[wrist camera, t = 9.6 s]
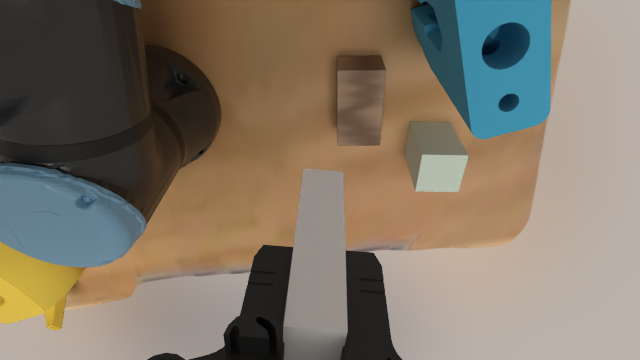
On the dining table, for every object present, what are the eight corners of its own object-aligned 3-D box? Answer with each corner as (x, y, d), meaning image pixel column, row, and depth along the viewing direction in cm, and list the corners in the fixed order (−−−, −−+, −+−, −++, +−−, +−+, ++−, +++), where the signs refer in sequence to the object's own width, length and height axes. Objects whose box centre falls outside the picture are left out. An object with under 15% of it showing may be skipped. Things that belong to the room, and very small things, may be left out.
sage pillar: (404, 155, 50) (415, 191, 43) (410, 121, 47) (422, 154, 40) (442, 155, 50) (458, 192, 43) (449, 122, 47) (468, 155, 40)
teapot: (110, 279, 67) (73, 340, 58) (60, 295, 70) (17, 355, 61) (20, 199, 57) (-44, 257, 47) (-35, 222, 60) (-105, 280, 50)
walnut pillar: (337, 146, 44) (337, 70, 39) (337, 126, 48) (337, 55, 43) (379, 146, 44) (385, 70, 38) (376, 126, 48) (380, 55, 42)
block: (464, 39, 41) (550, 121, 25) (418, 54, 42) (472, 142, 26) (449, -87, 34) (552, -89, 18) (396, -66, 36) (448, -50, 19)
